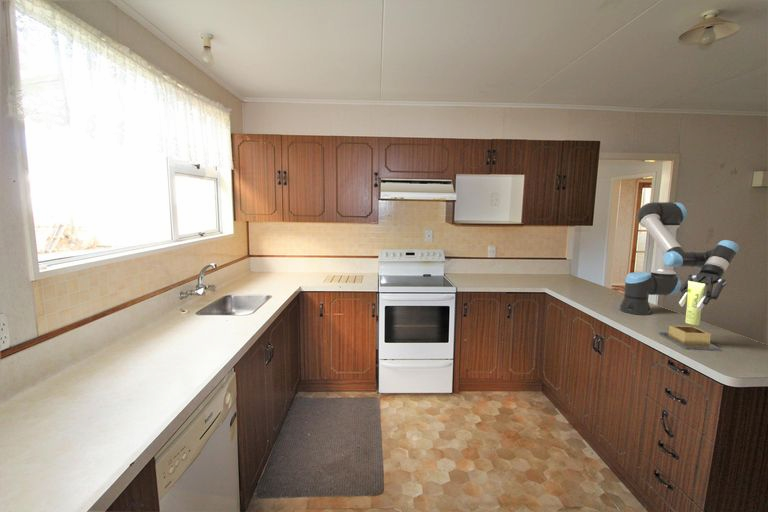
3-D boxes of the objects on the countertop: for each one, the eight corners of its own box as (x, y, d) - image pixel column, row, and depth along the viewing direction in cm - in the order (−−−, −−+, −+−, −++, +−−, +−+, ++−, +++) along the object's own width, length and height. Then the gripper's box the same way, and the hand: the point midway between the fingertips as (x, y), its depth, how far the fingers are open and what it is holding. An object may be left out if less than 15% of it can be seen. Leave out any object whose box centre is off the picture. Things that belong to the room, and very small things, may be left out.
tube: (683, 323, 159) (688, 282, 156) (683, 320, 163) (688, 280, 160) (700, 326, 155) (705, 283, 152) (699, 323, 159) (704, 281, 156)
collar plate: (658, 334, 171) (660, 322, 170) (690, 335, 169) (691, 323, 168) (685, 349, 153) (687, 336, 152) (720, 350, 151) (722, 337, 151)
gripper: (743, 277, 153) (718, 317, 149) (692, 270, 170) (668, 306, 166) (739, 266, 150) (713, 307, 146) (686, 260, 168) (662, 296, 164)
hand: (689, 306), depth 156 cm, fingers closed on tube, 6 cm apart
